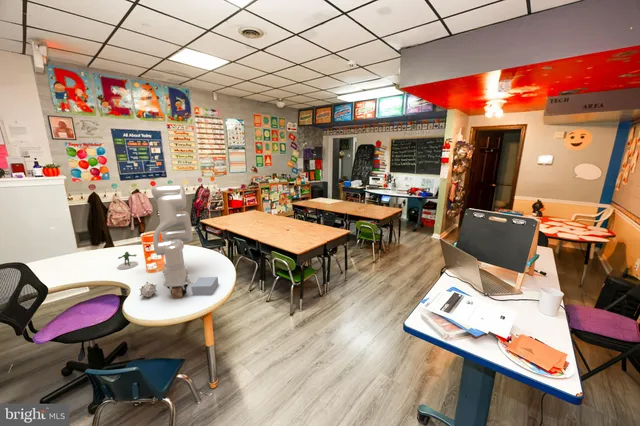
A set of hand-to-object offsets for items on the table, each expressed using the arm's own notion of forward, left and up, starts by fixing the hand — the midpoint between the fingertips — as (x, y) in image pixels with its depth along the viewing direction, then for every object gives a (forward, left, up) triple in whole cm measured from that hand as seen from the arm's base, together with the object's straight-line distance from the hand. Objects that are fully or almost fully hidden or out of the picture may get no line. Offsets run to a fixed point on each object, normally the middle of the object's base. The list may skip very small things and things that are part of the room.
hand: (179, 294), depth 143 cm
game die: (-17, +2, -1) cm, 17 cm away
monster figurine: (-53, +45, -1) cm, 69 cm away
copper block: (0, 0, -1) cm, 1 cm away
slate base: (+13, +5, -1) cm, 14 cm away
